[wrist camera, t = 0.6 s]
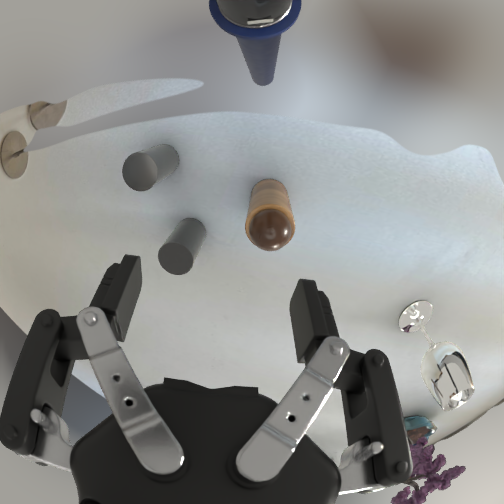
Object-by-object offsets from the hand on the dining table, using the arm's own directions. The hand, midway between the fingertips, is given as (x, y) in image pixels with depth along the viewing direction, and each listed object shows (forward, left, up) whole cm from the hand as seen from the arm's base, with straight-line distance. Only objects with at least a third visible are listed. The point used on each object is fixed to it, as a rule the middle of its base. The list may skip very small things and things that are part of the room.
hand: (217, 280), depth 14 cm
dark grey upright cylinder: (-6, -10, -25) cm, 27 cm away
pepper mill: (+3, +2, -25) cm, 25 cm away
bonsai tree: (+81, +25, -25) cm, 89 cm away
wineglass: (+31, +23, -25) cm, 46 cm away
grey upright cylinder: (+5, -10, -25) cm, 27 cm away
